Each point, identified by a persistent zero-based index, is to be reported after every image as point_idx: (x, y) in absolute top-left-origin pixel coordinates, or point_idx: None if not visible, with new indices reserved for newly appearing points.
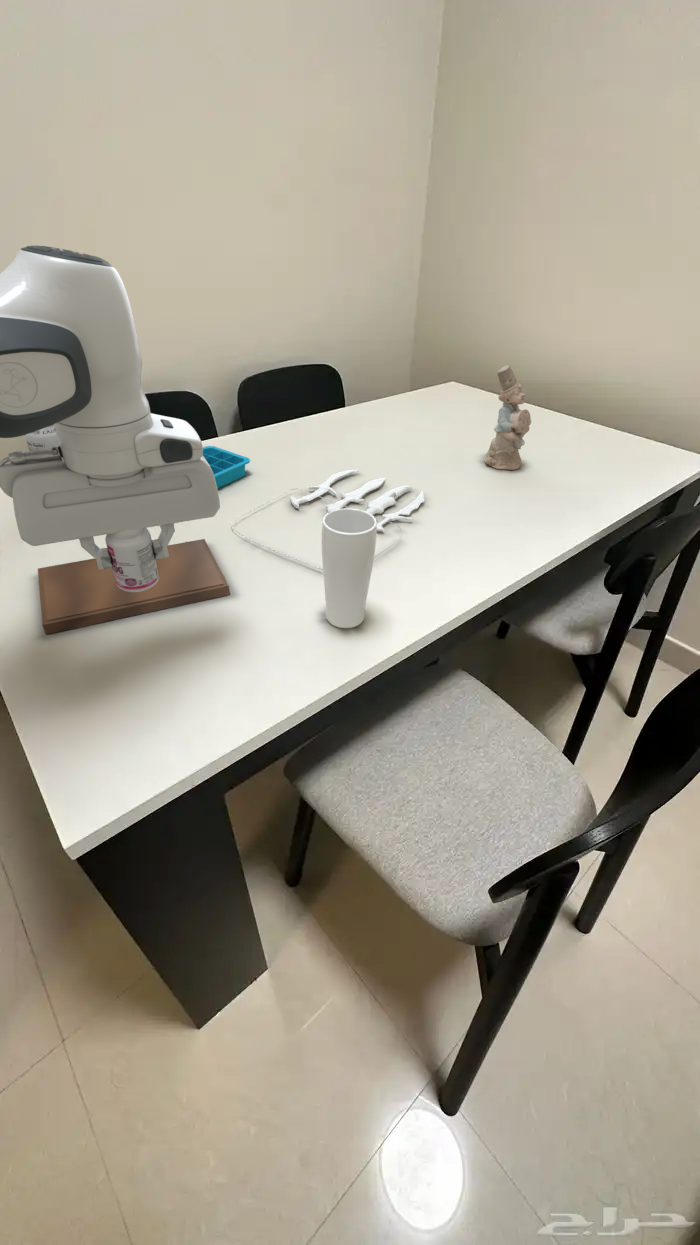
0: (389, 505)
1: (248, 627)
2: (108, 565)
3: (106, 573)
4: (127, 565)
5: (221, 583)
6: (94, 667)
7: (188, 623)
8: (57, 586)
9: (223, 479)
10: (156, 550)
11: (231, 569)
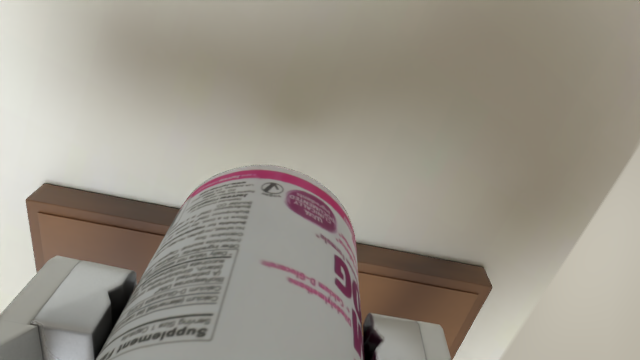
0: None
1: (19, 22)
2: (392, 328)
3: None
4: (305, 276)
5: (43, 216)
6: (456, 104)
7: (181, 135)
8: None
9: None
10: (90, 311)
11: (20, 267)
